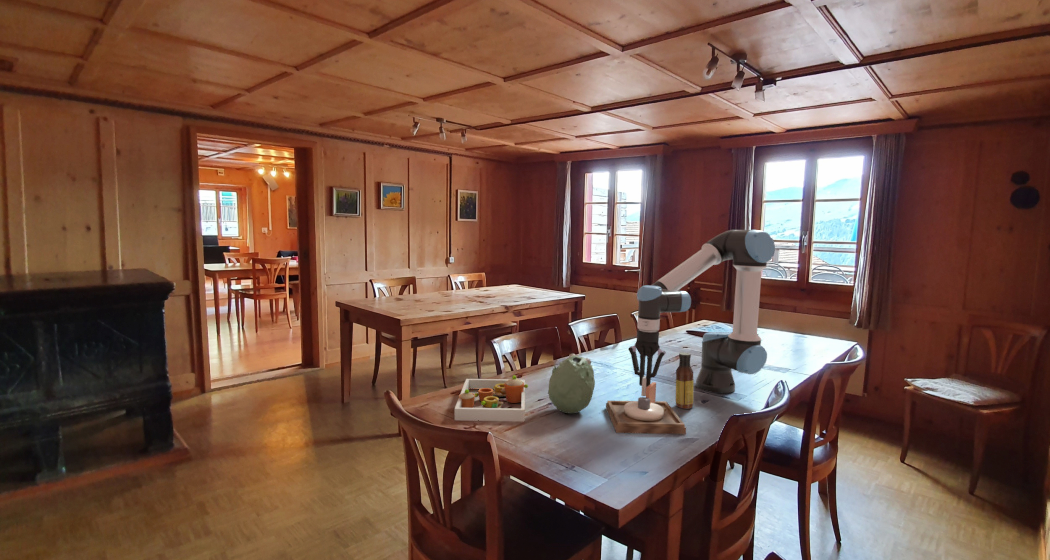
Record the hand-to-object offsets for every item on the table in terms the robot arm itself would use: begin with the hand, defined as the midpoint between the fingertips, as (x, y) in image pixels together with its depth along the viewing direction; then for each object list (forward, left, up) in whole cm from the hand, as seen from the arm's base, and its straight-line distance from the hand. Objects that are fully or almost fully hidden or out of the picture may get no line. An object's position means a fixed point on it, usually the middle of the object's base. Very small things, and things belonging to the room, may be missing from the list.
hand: (644, 394), depth 181 cm
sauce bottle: (-16, -5, -6) cm, 18 cm away
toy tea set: (+54, -5, -6) cm, 55 cm away
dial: (+1, +7, -4) cm, 8 cm away
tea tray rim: (+54, -5, -6) cm, 55 cm away
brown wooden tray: (+2, +9, -6) cm, 11 cm away
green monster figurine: (+26, +2, -6) cm, 27 cm away
